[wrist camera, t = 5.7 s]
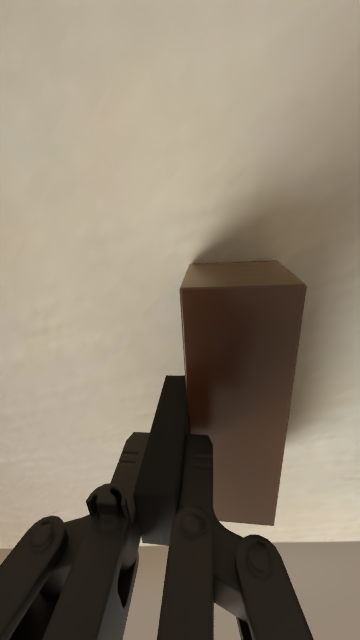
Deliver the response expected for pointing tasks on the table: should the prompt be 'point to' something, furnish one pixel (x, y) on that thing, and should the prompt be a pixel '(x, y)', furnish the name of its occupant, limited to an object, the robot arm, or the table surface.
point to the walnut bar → (242, 377)
